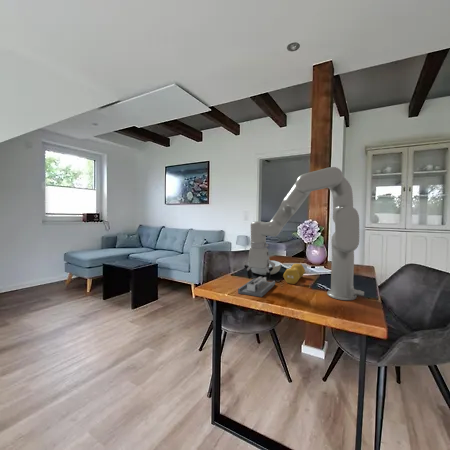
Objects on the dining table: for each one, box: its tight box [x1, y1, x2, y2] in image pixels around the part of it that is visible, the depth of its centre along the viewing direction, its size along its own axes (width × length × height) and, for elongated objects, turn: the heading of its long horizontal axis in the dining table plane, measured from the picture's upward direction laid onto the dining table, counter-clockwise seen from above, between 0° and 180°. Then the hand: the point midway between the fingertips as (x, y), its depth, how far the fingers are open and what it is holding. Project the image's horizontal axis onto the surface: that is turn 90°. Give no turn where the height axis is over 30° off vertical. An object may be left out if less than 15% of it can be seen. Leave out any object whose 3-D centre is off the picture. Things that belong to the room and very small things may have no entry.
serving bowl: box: [247, 259, 282, 276], centre depth 163 cm, size 21×21×7 cm
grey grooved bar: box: [247, 276, 268, 292], centre depth 131 cm, size 18×4×4 cm, turn 153°
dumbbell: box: [282, 263, 306, 285], centre depth 148 cm, size 19×9×8 cm, turn 151°
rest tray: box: [237, 277, 276, 298], centre depth 131 cm, size 12×22×2 cm, turn 153°
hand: (258, 278), depth 131 cm, fingers open, 9 cm apart
